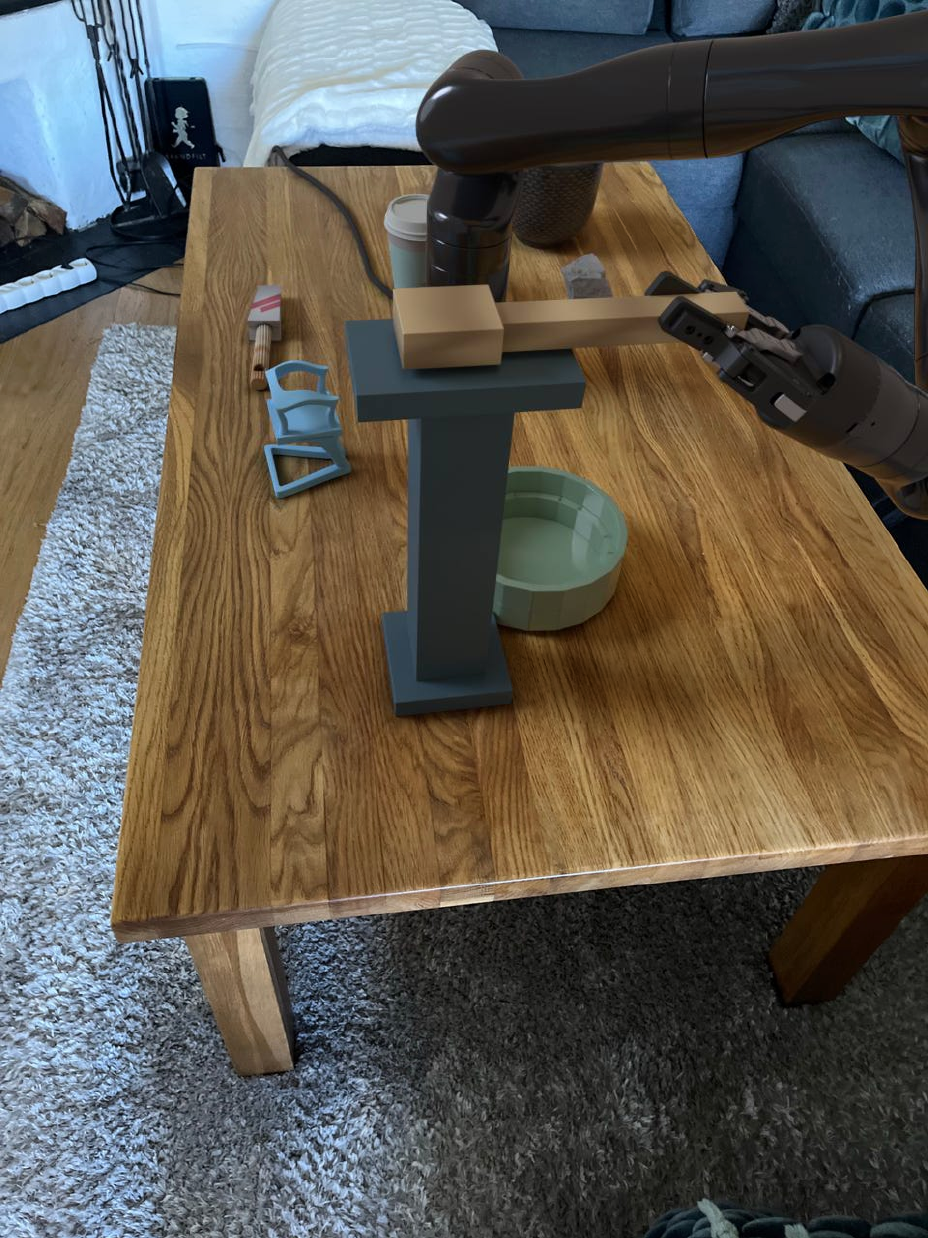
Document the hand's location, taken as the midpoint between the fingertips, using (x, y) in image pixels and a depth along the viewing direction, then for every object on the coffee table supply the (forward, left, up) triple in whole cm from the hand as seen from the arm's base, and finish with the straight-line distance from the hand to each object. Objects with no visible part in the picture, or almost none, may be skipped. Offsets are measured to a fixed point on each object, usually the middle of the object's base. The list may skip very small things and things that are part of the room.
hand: (662, 298), depth 58 cm
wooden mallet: (-3, -5, -2) cm, 6 cm away
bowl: (-10, +3, -35) cm, 37 cm away
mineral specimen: (-38, +38, -35) cm, 64 cm away
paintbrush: (-58, +3, -35) cm, 68 cm away
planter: (-58, +49, -35) cm, 84 cm away
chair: (-35, -6, -35) cm, 50 cm away
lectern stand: (-6, -11, -35) cm, 37 cm away
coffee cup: (-55, +24, -35) cm, 70 cm away
